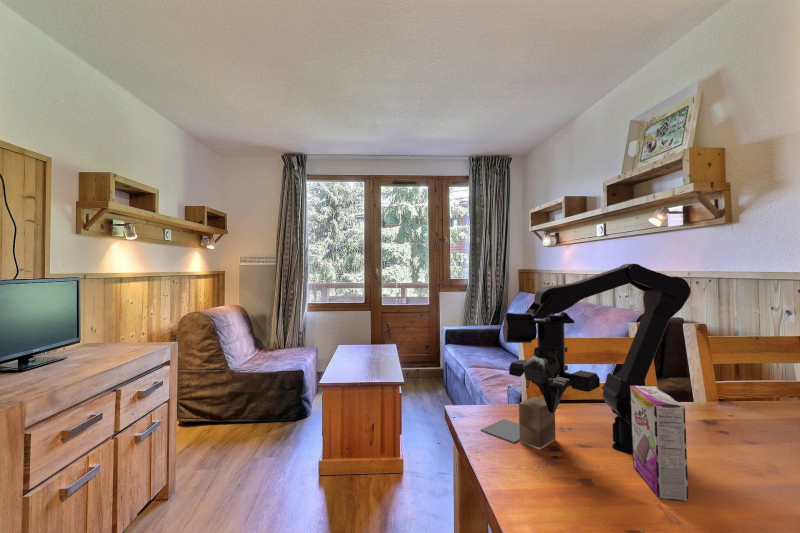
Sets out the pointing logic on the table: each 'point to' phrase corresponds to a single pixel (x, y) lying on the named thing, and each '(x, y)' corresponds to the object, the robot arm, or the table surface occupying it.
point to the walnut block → (536, 423)
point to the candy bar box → (659, 442)
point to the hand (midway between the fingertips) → (552, 412)
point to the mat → (504, 430)
